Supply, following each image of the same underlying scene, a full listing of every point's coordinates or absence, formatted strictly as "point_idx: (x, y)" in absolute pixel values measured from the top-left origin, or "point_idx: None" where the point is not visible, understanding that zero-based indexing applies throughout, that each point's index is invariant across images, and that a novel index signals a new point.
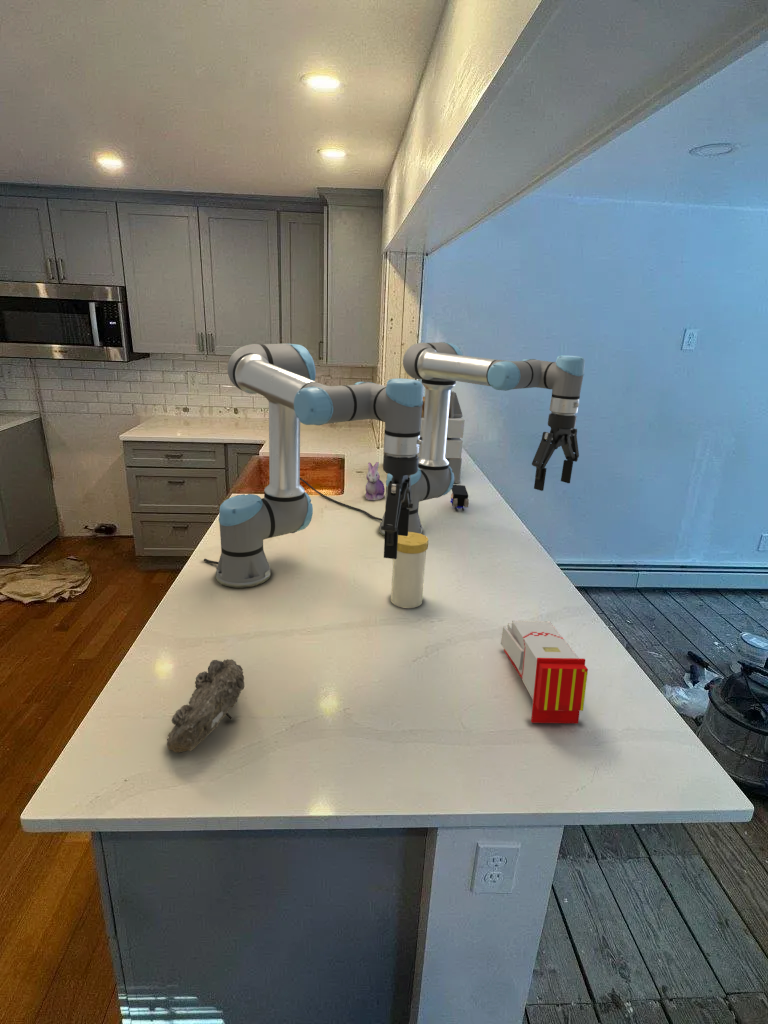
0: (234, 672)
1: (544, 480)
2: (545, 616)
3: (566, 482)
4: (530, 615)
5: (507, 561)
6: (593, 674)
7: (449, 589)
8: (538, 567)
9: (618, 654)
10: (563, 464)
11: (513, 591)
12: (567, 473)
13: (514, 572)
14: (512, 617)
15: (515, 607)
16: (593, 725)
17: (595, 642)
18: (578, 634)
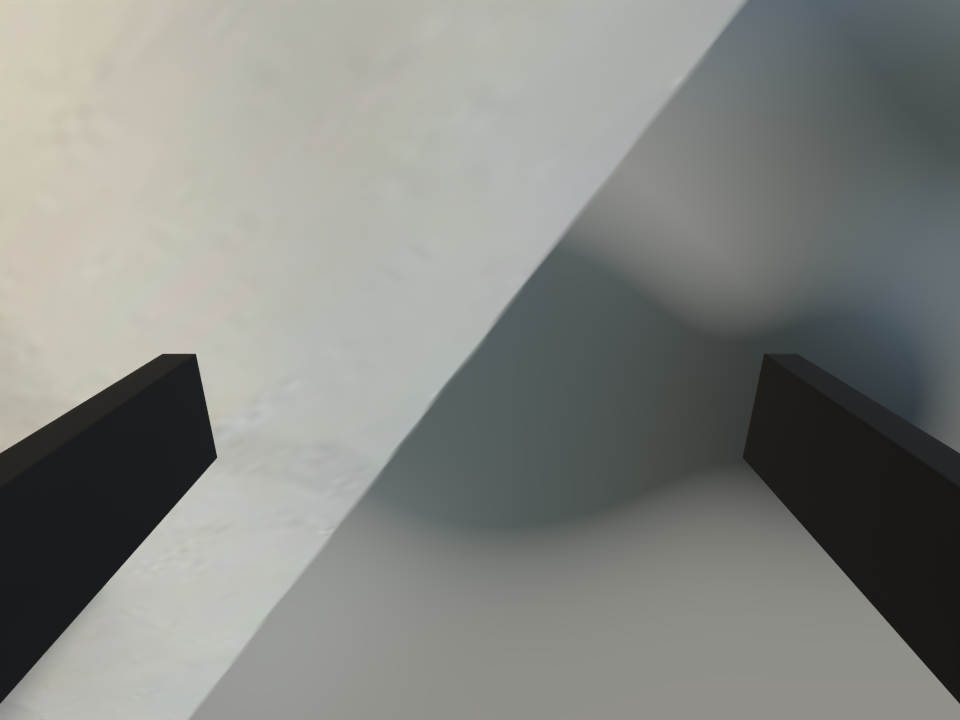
0: None
1: (133, 542)
2: (227, 441)
3: (748, 434)
4: None
5: (456, 69)
6: (132, 630)
7: (20, 107)
8: (521, 205)
9: (253, 626)
10: (955, 496)
11: (256, 279)
12: (821, 498)
13: (389, 172)
14: None
15: None
16: None
17: (246, 578)
18: (237, 539)
